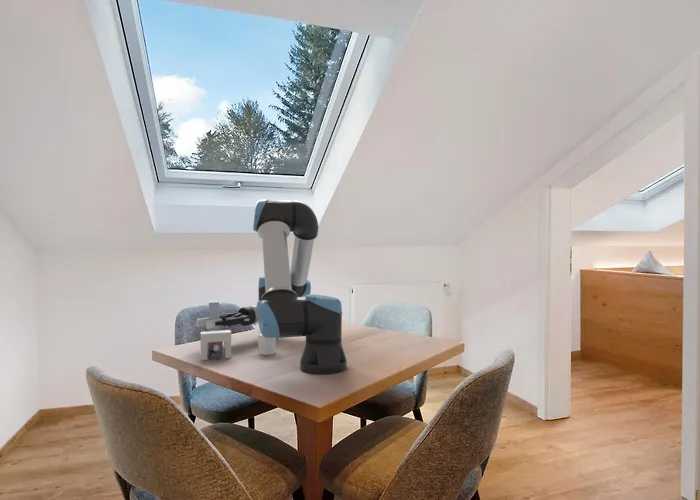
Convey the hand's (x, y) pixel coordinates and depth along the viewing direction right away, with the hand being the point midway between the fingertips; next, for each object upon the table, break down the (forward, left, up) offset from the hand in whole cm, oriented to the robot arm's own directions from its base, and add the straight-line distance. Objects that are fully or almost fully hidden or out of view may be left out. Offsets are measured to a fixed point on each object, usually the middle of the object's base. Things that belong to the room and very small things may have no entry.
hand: (202, 323), depth 159 cm
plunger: (-10, -4, -8) cm, 14 cm away
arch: (-9, -4, -11) cm, 15 cm away
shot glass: (-8, -22, -11) cm, 26 cm away
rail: (+1, -4, -11) cm, 11 cm away
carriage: (0, -4, -10) cm, 11 cm away
